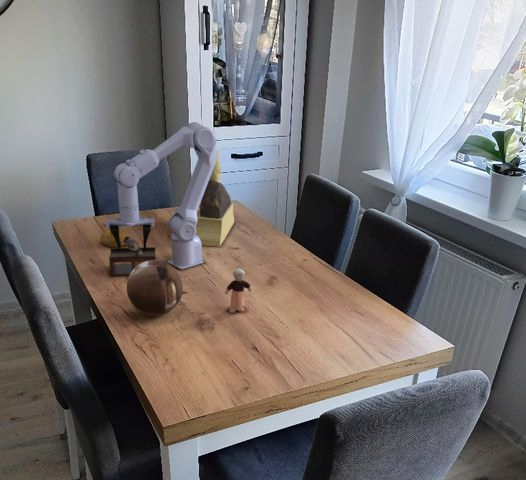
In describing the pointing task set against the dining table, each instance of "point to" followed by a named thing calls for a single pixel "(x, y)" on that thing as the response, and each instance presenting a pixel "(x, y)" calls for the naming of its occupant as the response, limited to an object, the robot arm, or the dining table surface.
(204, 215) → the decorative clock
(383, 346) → the dining table surface
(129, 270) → the shelf
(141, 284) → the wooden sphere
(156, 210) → the dining table surface
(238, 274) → the grandmother figurine
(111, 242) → the bagel
